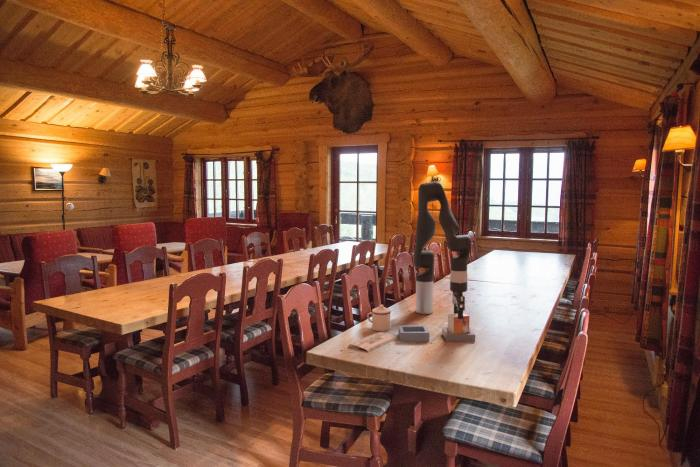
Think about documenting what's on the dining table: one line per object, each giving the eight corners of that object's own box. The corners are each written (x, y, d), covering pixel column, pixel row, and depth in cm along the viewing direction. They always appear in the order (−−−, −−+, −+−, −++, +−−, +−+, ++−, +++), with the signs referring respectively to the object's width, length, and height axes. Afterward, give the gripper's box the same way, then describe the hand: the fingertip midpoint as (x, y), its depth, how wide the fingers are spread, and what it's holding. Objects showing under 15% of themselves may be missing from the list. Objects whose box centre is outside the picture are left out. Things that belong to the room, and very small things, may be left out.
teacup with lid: (394, 327, 226) (394, 304, 225) (385, 332, 219) (385, 308, 217) (372, 324, 233) (371, 301, 231) (363, 329, 225) (362, 305, 224)
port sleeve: (398, 334, 217) (398, 325, 216) (425, 333, 217) (425, 325, 216) (400, 341, 206) (400, 332, 206) (429, 341, 206) (429, 332, 206)
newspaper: (375, 334, 219) (375, 329, 218) (397, 342, 211) (397, 337, 211) (343, 347, 201) (344, 341, 201) (366, 356, 194) (367, 351, 193)
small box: (453, 340, 208) (453, 317, 206) (447, 336, 213) (447, 313, 212) (469, 338, 210) (469, 315, 209) (463, 334, 215) (463, 312, 214)
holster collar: (442, 333, 217) (442, 327, 216) (469, 333, 216) (469, 327, 216) (446, 341, 206) (446, 334, 206) (475, 341, 206) (475, 334, 206)
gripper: (447, 277, 216) (446, 312, 217) (453, 283, 201) (453, 320, 203) (463, 277, 215) (463, 311, 217) (471, 283, 201) (470, 320, 203)
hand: (458, 316), depth 210 cm, fingers open, 8 cm apart
